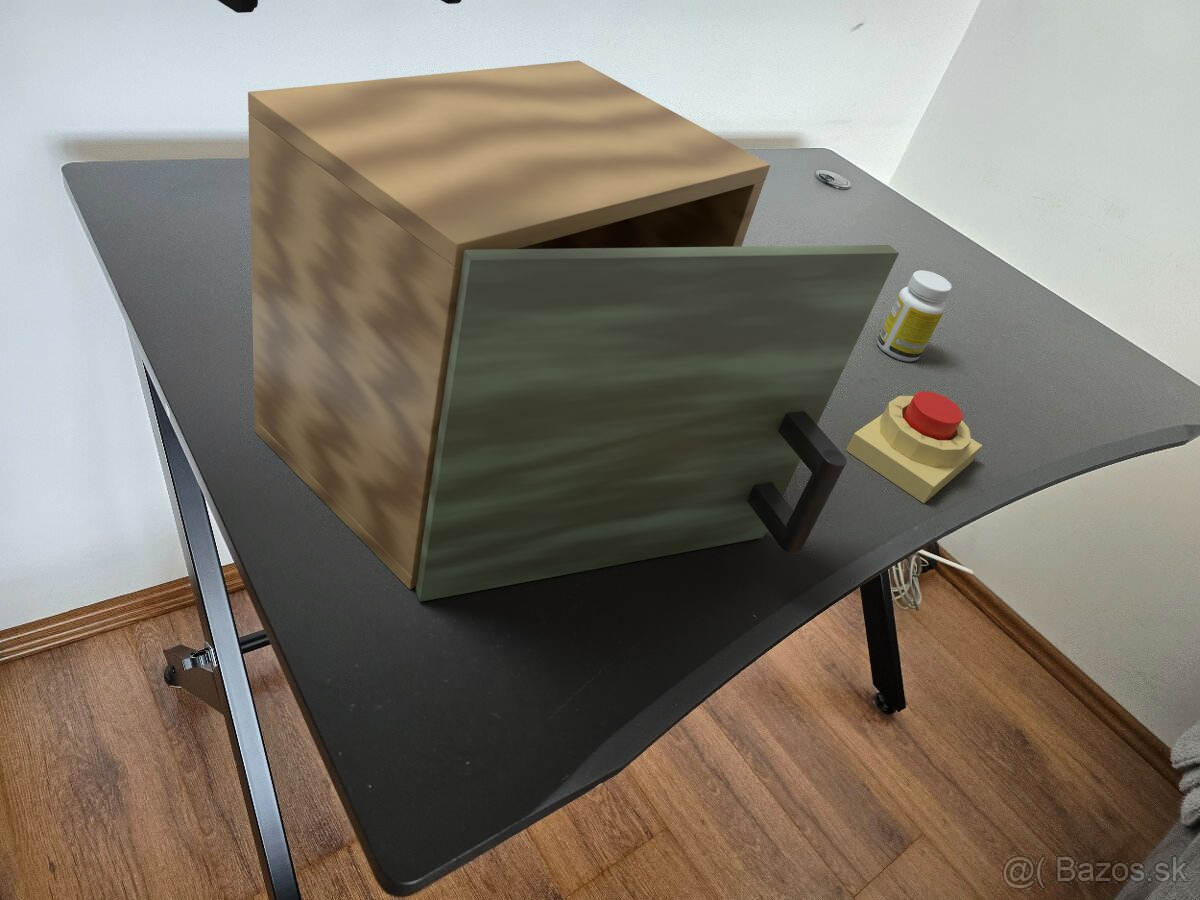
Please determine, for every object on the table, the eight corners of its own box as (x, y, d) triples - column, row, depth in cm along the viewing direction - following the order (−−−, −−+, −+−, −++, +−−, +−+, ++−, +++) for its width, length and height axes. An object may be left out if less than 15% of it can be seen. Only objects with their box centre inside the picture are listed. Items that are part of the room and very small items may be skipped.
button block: (897, 413, 86) (916, 380, 84) (972, 461, 83) (993, 428, 80) (845, 450, 80) (863, 414, 77) (923, 504, 76) (945, 468, 74)
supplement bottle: (928, 359, 96) (965, 290, 91) (898, 365, 94) (935, 295, 88) (896, 334, 99) (930, 265, 94) (866, 339, 96) (900, 269, 91)
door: (802, 590, 65) (959, 302, 50) (444, 671, 53) (510, 325, 38) (756, 528, 69) (889, 244, 54) (415, 590, 57) (464, 249, 42)
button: (917, 403, 82) (927, 385, 80) (960, 430, 80) (971, 412, 78) (894, 419, 79) (904, 400, 77) (938, 448, 77) (949, 429, 76)
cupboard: (670, 446, 75) (771, 164, 60) (409, 590, 57) (457, 244, 42) (523, 334, 82) (578, 59, 67) (254, 431, 65) (247, 91, 50)
